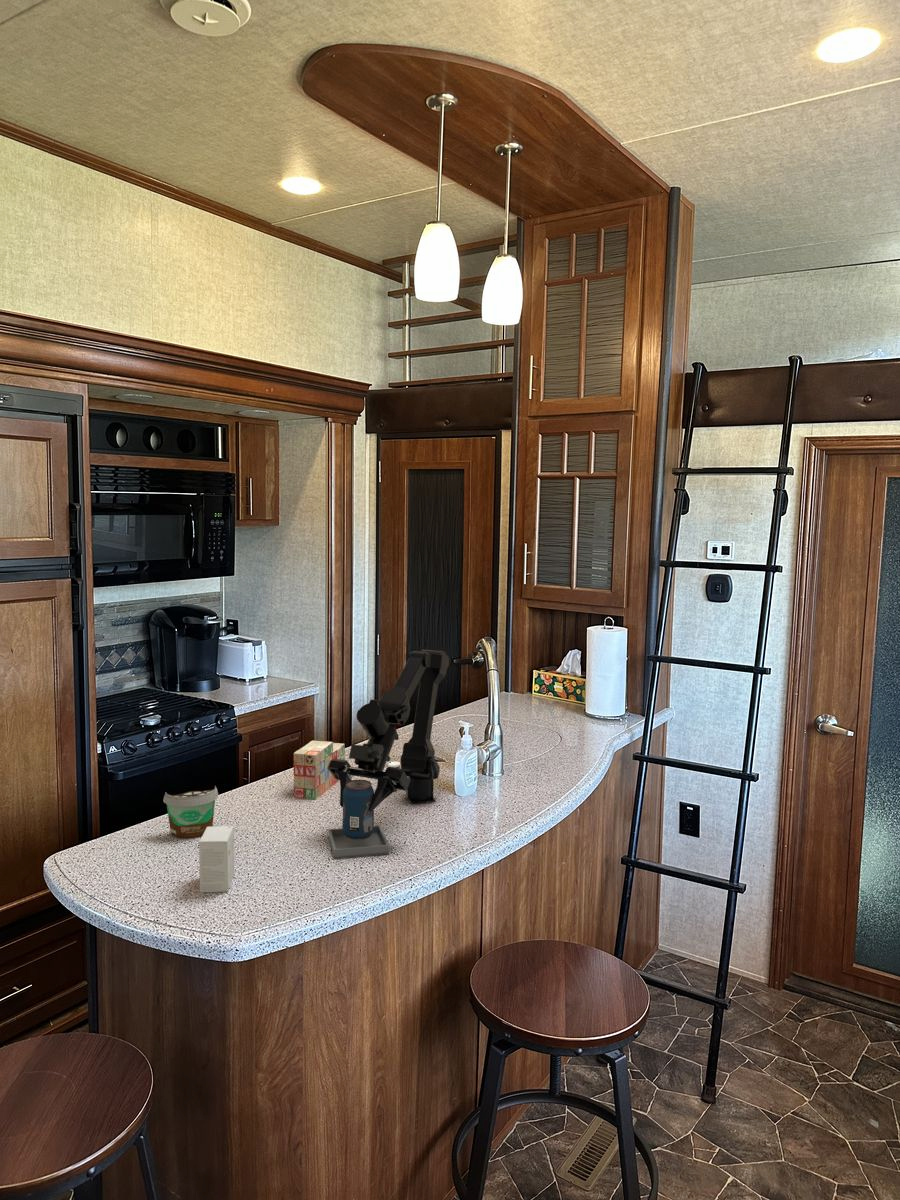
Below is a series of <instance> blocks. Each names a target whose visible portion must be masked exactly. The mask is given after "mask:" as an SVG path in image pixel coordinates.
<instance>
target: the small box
mask: <svg viewBox="0 0 900 1200" xmlns="http://www.w3.org/2000/svg"><path fill="white" fill-rule="evenodd" d="M199 839H200V840H199V842H198V855H199V856H198V857H199V892H200V893H226V892H229V889H230V887H231V884H232V882H233V879H234V876H235V868H236V867H235V864H236V863H235V826H233V825H232V826H231V825H230V826H228V825H227V826H226V825H225V826H222V825H221V826H213V827H207V828H206V830H205V832H204V834H203V835H202V837H200V838H199Z"/></svg>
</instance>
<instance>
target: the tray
mask: <svg viewBox="0 0 900 1200" xmlns="http://www.w3.org/2000/svg"><path fill="white" fill-rule="evenodd" d="M327 833H328V842H329V845H330V849H331V853H332V856H333V857H332V858H333V859H334V860H337V859H338V860H339V859H348V858H360V857H362V858H363V857H372V856H383V855H390V845H389V844H390V843H388V839H387V838H386V835H385V833H384V830H383V828H382V827H381V825H380V824H379V825H378V824H377V825H374V830H373V832H372V834H371V836H370V837H369V838H367V839H364V840H351V839H348V838H347V837H346V836H345V834H344V833H343V827H341V828H340V827H339V828H329V829H328V831H327Z"/></svg>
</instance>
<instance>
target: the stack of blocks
mask: <svg viewBox="0 0 900 1200" xmlns="http://www.w3.org/2000/svg"><path fill="white" fill-rule="evenodd" d="M345 751H346V747H345V743H339V742H333V741H325V740H323V741H322V740H311V741H309V742H308V743H307V744H305V745H304V746H302V747H300V748H299V749H297V750H296V751H295V752H293V798H294V799H304V800H311V801H312V800H314V801H316V800H317V799H318V798H320V797H321V796H322V795H324V794H325V793H327V792H328V790H330V788H332V787H333V786H334V785H335V784H336V783H338V782H340V780H338V779H335V777H334V776H333V775H332V774H331V772H330V771H329V770H328V768H327V767H328V765H329V762H330V761H331V760H332V759H340V760H346V754H345V753H346V752H345Z"/></svg>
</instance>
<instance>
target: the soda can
mask: <svg viewBox="0 0 900 1200" xmlns="http://www.w3.org/2000/svg"><path fill="white" fill-rule="evenodd" d="M374 793H375V789H374V788H373V785H372V782H371V781H369V780H366V779H351V781H348V782H347V783H346V786H345V788H344V790H343V807H342V828H343V833H344V834H345V836H346V837H347V838H348V839H351V840H364V839H367V838H369V837H370V836H371V834H372V832H373V830H374V826H375V824H374V823H375V822H374V821H375V820H374V819H375V818H374V817H375V816H374V815H375V809H374V810H373V811H372V812H370V811H369V806H370V803H371V800H372V798H373V795H374Z"/></svg>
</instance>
